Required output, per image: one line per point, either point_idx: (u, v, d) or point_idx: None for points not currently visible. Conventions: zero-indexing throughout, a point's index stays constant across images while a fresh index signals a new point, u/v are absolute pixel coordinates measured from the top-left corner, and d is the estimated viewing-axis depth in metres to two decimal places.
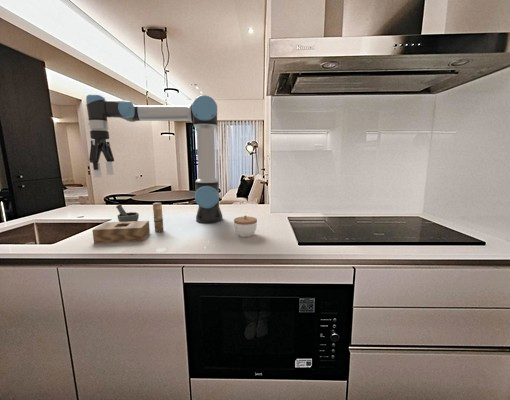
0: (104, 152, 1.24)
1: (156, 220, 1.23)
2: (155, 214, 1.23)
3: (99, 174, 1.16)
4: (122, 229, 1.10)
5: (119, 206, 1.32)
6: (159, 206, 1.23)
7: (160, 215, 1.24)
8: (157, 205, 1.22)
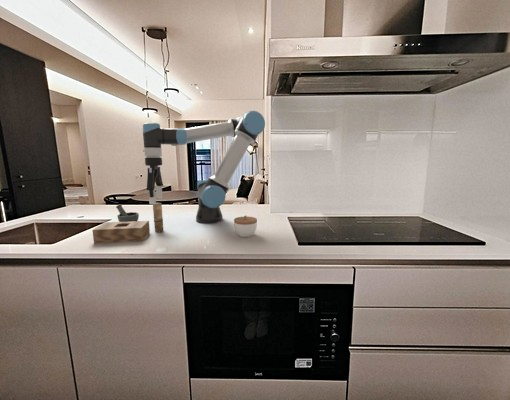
0: (155, 177, 1.25)
1: (156, 220, 1.23)
2: (155, 214, 1.23)
3: (154, 201, 1.17)
4: (122, 229, 1.10)
5: (119, 206, 1.32)
6: (159, 206, 1.23)
7: (160, 215, 1.24)
8: (157, 205, 1.22)
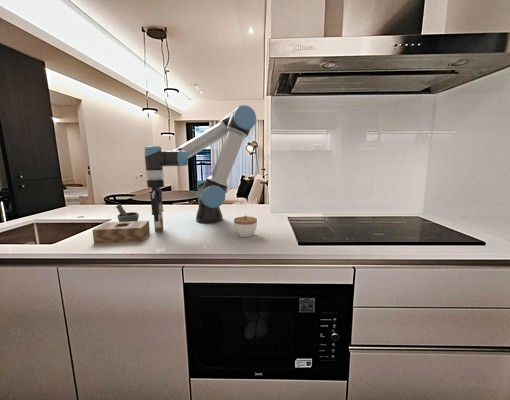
0: None
1: None
2: None
3: (159, 225, 1.23)
4: (122, 229, 1.10)
5: (119, 206, 1.32)
6: (159, 206, 1.23)
7: (160, 215, 1.24)
8: None
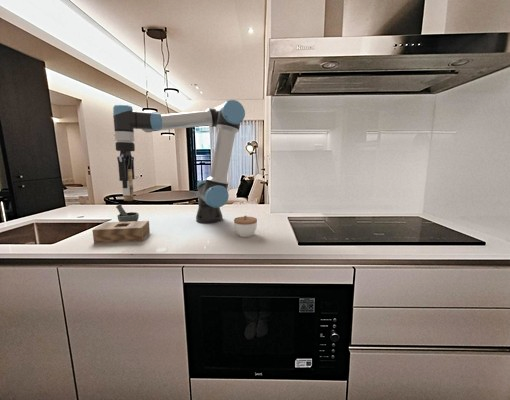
0: None
1: None
2: None
3: (128, 192, 1.13)
4: (122, 229, 1.10)
5: (119, 206, 1.32)
6: (128, 172, 1.13)
7: (129, 182, 1.14)
8: None
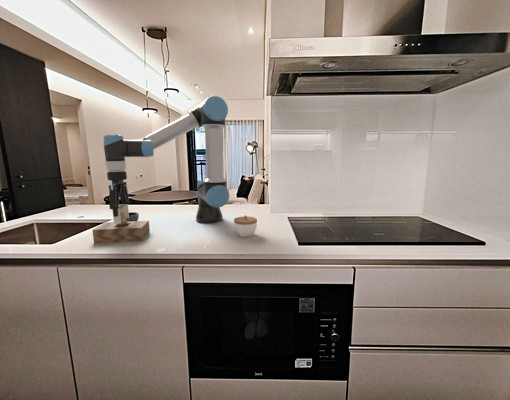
0: (120, 193, 1.16)
1: (119, 224, 1.13)
2: None
3: (119, 220, 1.10)
4: (122, 229, 1.10)
5: None
6: (121, 209, 1.13)
7: (123, 218, 1.14)
8: (119, 208, 1.12)
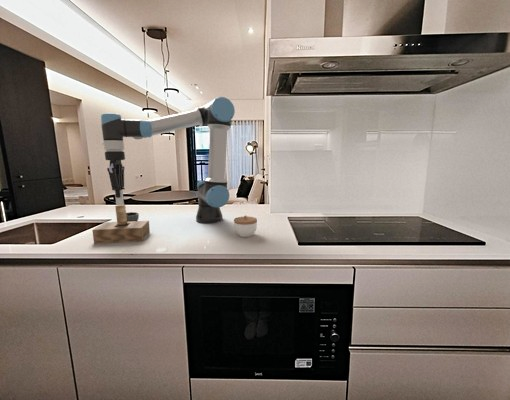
0: None
1: (119, 224, 1.14)
2: (118, 217, 1.13)
3: (121, 202, 1.13)
4: (122, 229, 1.10)
5: None
6: (122, 208, 1.13)
7: (124, 218, 1.14)
8: (120, 207, 1.13)
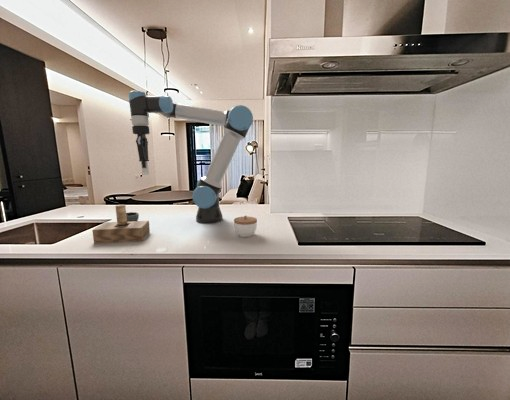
0: None
1: (119, 224, 1.14)
2: (118, 217, 1.13)
3: (147, 172, 1.26)
4: (122, 229, 1.10)
5: None
6: (122, 208, 1.13)
7: (124, 218, 1.14)
8: (120, 207, 1.13)
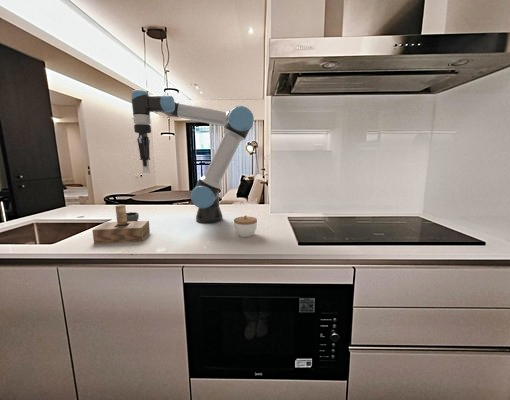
0: None
1: (119, 224, 1.14)
2: (118, 217, 1.13)
3: (147, 170, 1.27)
4: (122, 229, 1.10)
5: None
6: (122, 208, 1.13)
7: (124, 218, 1.14)
8: (120, 207, 1.13)
